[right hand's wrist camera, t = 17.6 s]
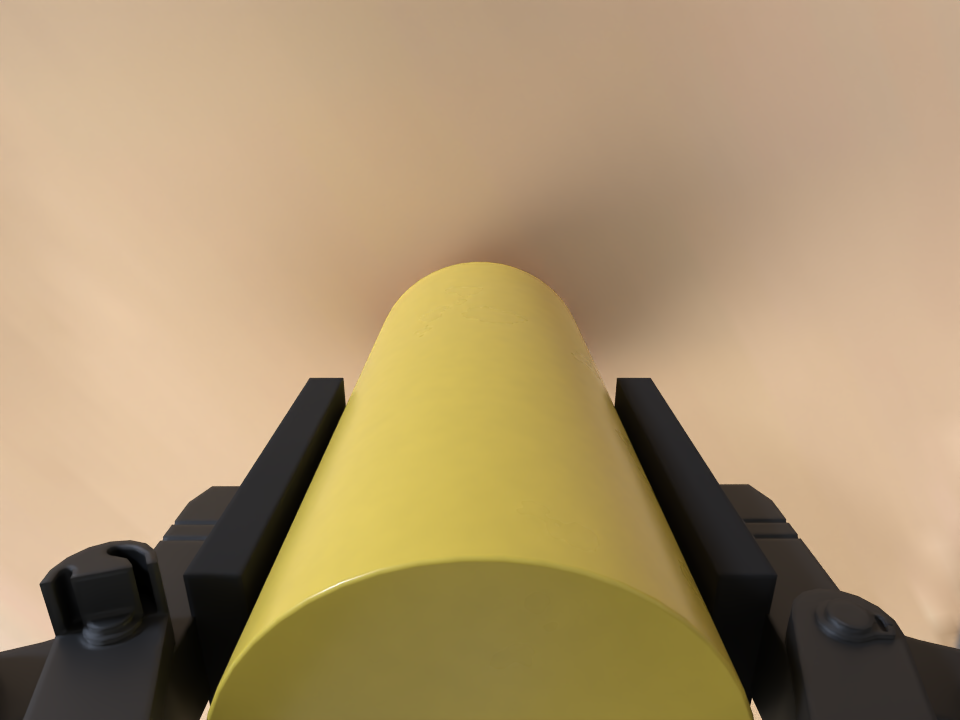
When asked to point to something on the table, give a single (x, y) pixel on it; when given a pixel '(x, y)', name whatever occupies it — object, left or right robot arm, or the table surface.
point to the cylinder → (480, 539)
